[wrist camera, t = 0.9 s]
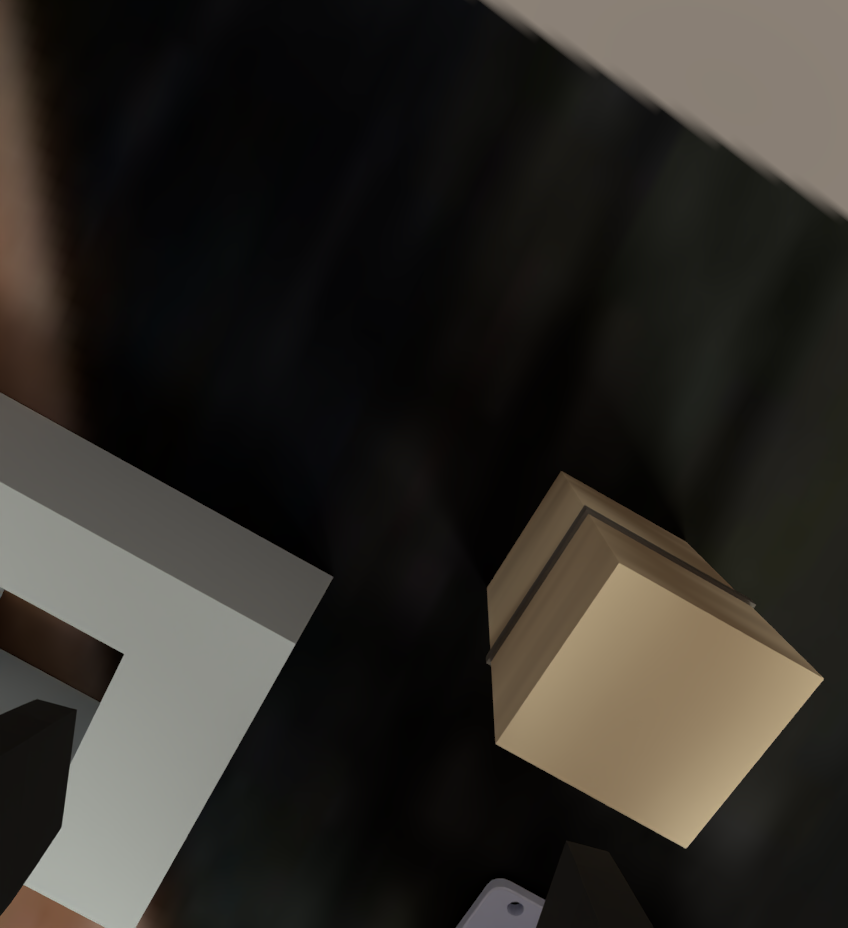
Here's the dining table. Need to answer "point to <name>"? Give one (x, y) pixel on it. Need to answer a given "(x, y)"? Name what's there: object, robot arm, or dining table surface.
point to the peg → (633, 664)
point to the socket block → (138, 650)
